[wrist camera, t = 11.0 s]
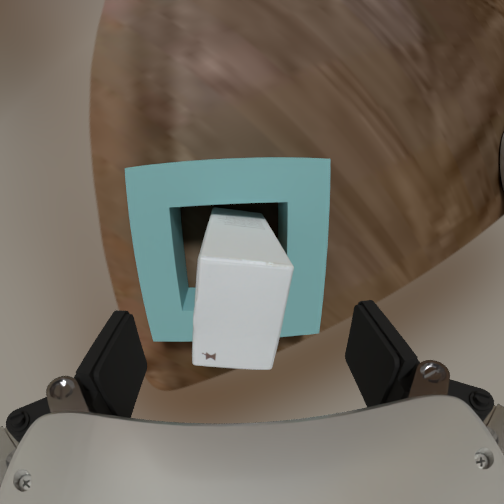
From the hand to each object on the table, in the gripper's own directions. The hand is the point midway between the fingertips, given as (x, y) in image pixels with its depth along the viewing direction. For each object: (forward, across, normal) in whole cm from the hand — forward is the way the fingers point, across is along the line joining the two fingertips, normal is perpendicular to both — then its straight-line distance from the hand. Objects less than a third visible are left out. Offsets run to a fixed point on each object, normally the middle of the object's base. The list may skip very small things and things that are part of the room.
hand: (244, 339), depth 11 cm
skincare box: (+14, +1, 0) cm, 14 cm away
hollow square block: (+13, +1, 0) cm, 13 cm away
